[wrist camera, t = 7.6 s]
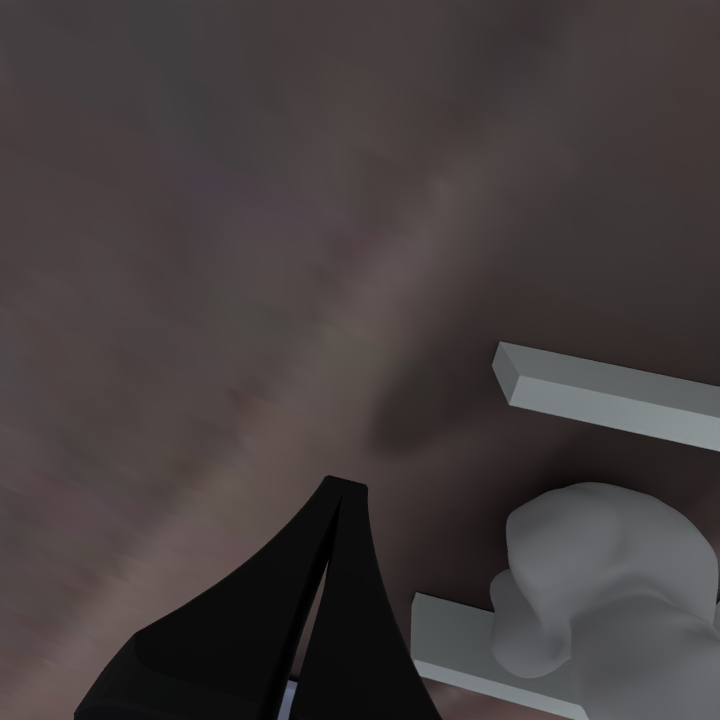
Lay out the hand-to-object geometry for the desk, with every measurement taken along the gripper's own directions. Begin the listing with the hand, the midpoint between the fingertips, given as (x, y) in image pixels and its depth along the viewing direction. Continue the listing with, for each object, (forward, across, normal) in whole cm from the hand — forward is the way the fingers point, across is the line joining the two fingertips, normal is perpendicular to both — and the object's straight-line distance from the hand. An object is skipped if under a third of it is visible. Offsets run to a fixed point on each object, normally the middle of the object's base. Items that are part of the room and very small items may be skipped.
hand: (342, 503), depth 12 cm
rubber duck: (+2, -8, 0) cm, 8 cm away
